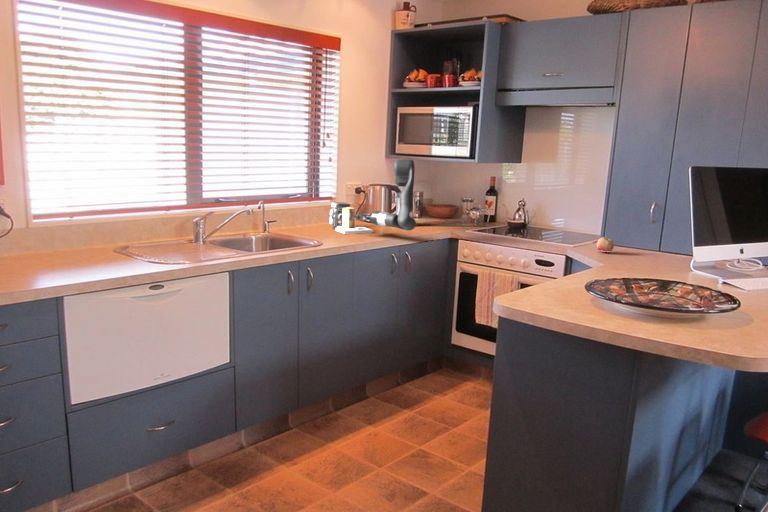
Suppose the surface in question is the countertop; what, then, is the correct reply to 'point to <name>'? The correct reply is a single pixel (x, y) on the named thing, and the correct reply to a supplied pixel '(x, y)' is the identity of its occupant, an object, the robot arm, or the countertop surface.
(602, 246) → the fruit
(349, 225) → the light wooden block
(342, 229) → the baseplate
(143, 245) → the countertop surface
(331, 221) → the camera
